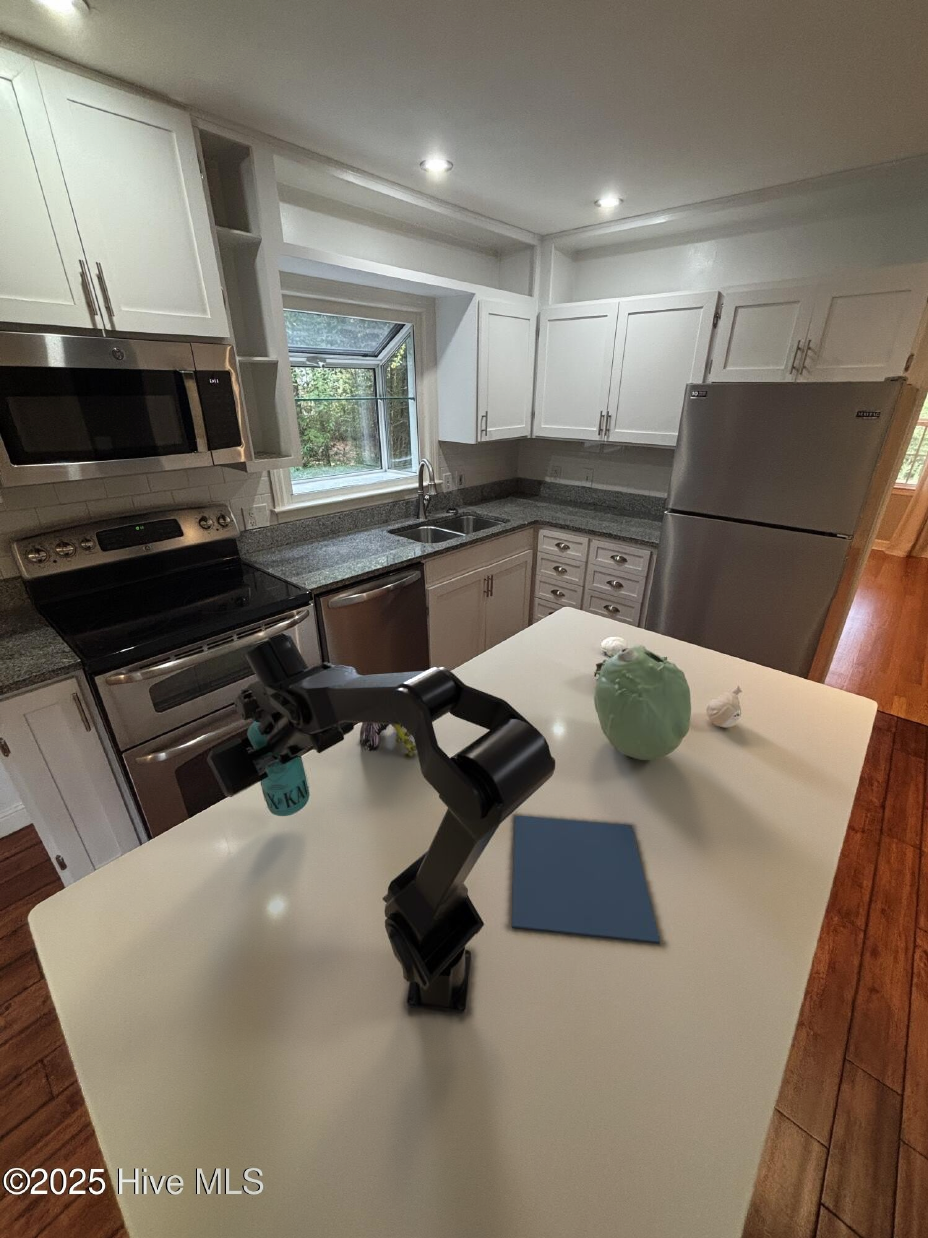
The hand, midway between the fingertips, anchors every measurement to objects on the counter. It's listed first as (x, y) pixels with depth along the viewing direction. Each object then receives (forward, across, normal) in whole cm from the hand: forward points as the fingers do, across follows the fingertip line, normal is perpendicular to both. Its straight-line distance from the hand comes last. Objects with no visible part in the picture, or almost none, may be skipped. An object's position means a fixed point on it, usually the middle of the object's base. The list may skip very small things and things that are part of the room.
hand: (272, 756), depth 73 cm
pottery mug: (-6, -71, +24) cm, 75 cm away
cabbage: (-14, -53, +32) cm, 64 cm away
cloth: (-18, -23, +37) cm, 47 cm away
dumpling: (+1, -85, +17) cm, 87 cm away
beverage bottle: (+6, -1, +8) cm, 10 cm away
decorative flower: (+10, -23, +8) cm, 27 cm away
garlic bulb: (-20, -73, +39) cm, 85 cm away
